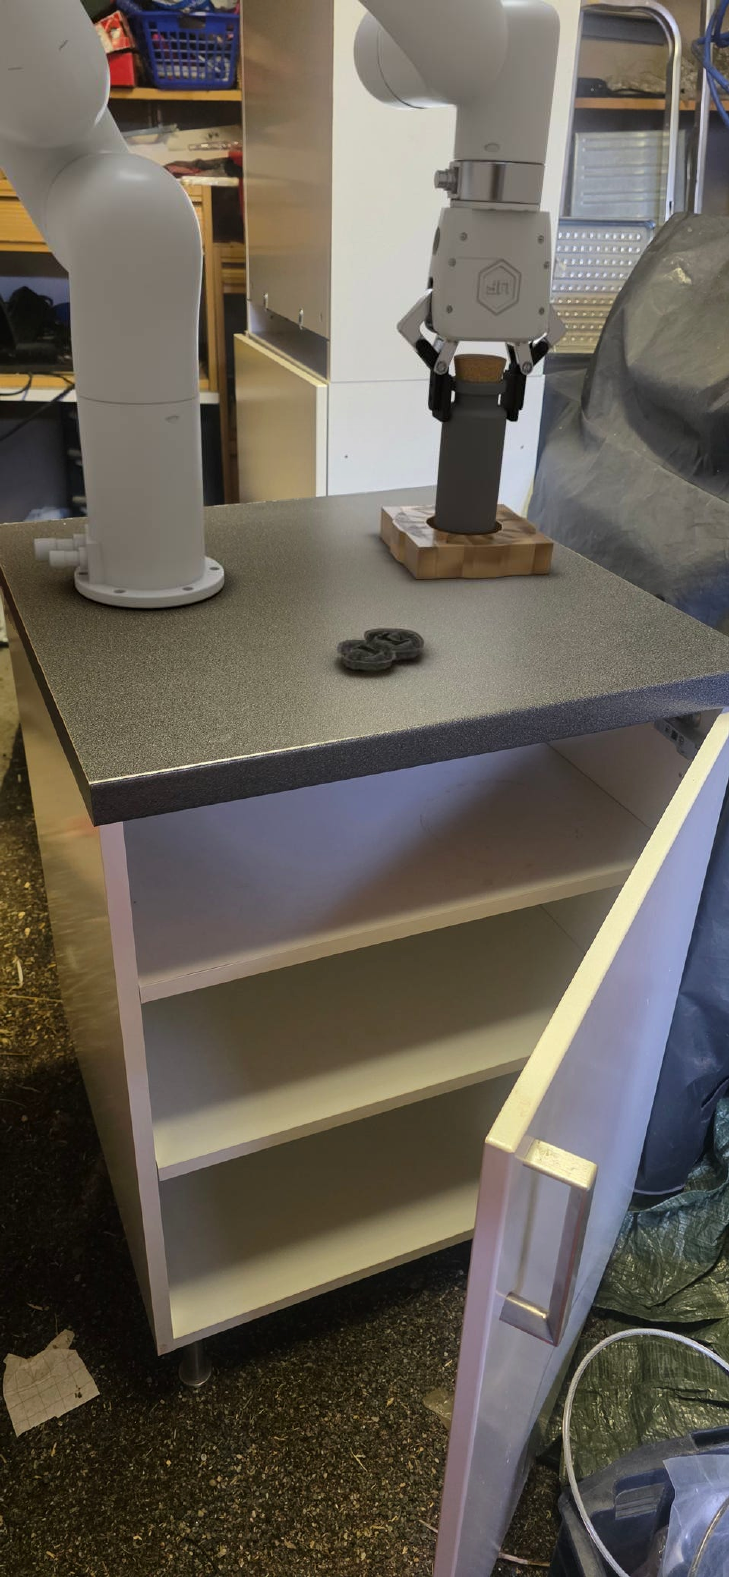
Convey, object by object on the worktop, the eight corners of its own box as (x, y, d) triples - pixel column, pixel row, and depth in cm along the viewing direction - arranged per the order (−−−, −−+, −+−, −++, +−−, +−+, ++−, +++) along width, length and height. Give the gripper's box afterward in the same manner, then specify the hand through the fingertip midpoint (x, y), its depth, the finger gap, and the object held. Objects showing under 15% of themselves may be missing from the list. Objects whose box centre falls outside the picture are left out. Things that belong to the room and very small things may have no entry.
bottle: (507, 530, 97) (527, 361, 90) (456, 537, 95) (472, 364, 87) (471, 514, 102) (487, 351, 94) (422, 520, 99) (434, 353, 91)
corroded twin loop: (319, 662, 76) (320, 648, 75) (387, 633, 81) (387, 620, 80) (372, 682, 73) (373, 668, 72) (438, 651, 78) (439, 638, 78)
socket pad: (413, 581, 92) (416, 548, 91) (375, 535, 104) (377, 505, 102) (554, 575, 96) (559, 543, 94) (502, 531, 107) (505, 502, 105)
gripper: (407, 185, 79) (394, 428, 88) (612, 195, 83) (578, 427, 92) (382, 183, 85) (372, 411, 94) (574, 193, 89) (546, 410, 98)
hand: (474, 417), depth 93 cm, fingers closed on bottle, 5 cm apart
